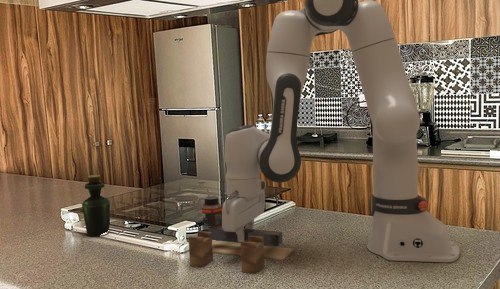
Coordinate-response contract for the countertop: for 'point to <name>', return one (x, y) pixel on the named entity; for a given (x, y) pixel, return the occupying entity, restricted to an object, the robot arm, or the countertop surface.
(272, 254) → the wooden plank
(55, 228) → the countertop surface
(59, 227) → the countertop surface
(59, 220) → the countertop surface
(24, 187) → the countertop surface
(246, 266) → the post
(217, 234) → the rail
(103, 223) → the potion bottle
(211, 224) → the supplement bottle
